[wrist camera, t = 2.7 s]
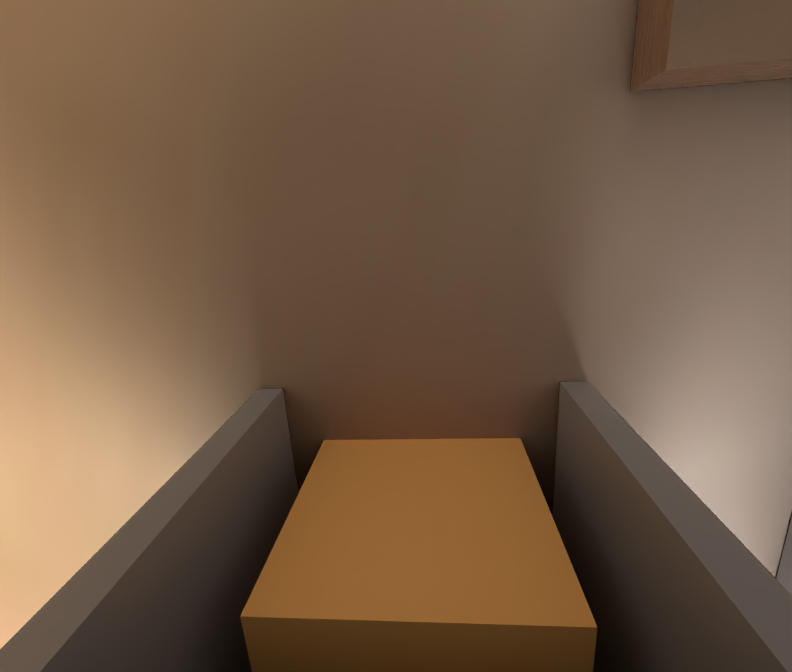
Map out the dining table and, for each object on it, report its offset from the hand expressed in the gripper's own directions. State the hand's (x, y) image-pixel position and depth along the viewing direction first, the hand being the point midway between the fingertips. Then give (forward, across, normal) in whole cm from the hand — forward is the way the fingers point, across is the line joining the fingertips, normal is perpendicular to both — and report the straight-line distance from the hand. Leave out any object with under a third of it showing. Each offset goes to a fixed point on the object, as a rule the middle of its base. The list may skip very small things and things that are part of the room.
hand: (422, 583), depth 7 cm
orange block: (+2, 0, 0) cm, 2 cm away
